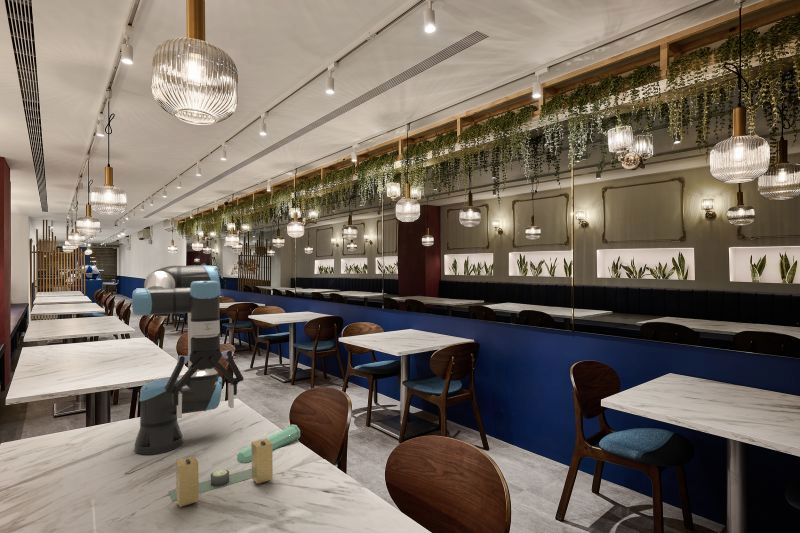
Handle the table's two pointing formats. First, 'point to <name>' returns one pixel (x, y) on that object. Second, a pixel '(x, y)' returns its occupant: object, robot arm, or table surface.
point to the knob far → (262, 461)
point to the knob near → (187, 481)
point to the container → (276, 440)
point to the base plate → (208, 487)
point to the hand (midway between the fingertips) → (206, 411)
